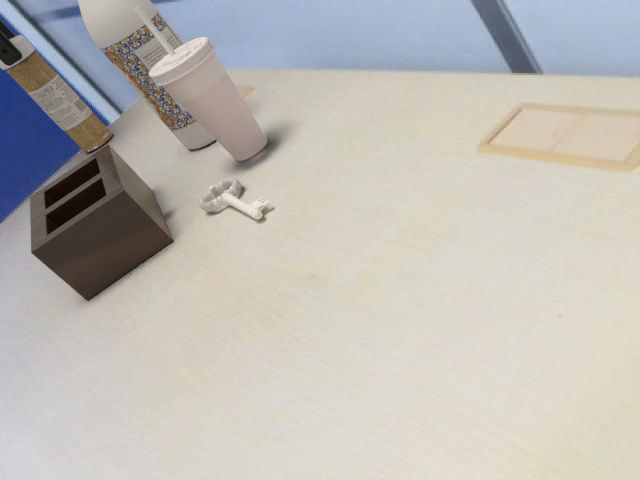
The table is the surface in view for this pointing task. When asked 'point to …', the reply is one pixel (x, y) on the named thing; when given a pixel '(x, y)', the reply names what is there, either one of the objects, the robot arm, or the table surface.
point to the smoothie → (207, 93)
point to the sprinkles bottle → (56, 97)
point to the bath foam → (141, 58)
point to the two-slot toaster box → (96, 223)
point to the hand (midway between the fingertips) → (16, 56)
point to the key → (230, 199)
